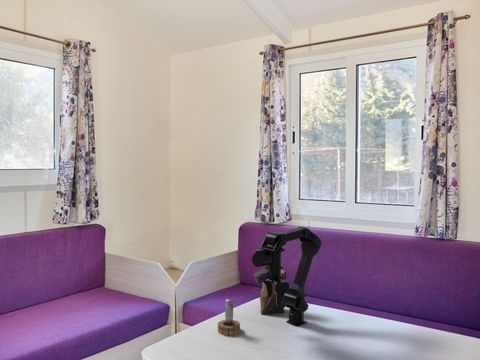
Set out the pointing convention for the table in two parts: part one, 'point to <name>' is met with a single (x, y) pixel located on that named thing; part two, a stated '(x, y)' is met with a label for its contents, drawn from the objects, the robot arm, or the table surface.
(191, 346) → the table surface
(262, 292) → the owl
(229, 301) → the purple capped tube
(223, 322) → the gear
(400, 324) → the table surface
